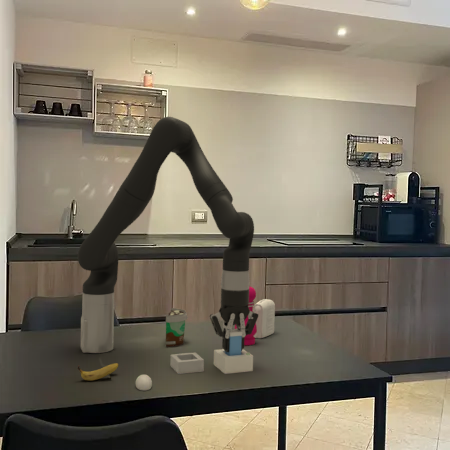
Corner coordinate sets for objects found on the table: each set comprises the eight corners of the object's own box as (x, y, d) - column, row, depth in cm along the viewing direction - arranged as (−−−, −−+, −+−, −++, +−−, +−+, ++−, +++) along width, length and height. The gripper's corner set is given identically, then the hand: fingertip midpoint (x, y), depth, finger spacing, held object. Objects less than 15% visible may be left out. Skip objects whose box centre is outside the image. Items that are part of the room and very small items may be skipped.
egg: (149, 386, 129) (150, 370, 129) (153, 395, 123) (153, 378, 123) (134, 387, 128) (134, 371, 128) (137, 396, 122) (137, 380, 122)
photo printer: (264, 331, 187) (265, 296, 186) (275, 333, 184) (276, 298, 184) (250, 337, 178) (251, 301, 177) (261, 339, 176) (263, 302, 175)
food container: (185, 348, 162) (185, 316, 162) (165, 348, 162) (165, 315, 162) (188, 338, 175) (189, 308, 174) (170, 337, 175) (170, 307, 174)
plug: (229, 366, 140) (230, 332, 139) (224, 363, 143) (225, 329, 142) (241, 365, 141) (242, 331, 141) (236, 362, 144) (237, 328, 144)
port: (224, 377, 137) (225, 356, 137) (213, 368, 144) (214, 348, 144) (252, 374, 140) (253, 354, 140) (240, 365, 147) (240, 346, 147)
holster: (177, 377, 136) (178, 362, 136) (170, 369, 142) (170, 354, 142) (203, 374, 138) (204, 359, 138) (194, 366, 145) (195, 352, 145)
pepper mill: (261, 343, 171) (262, 281, 170) (246, 347, 166) (248, 283, 165) (244, 338, 176) (245, 278, 175) (229, 342, 171) (231, 280, 170)
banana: (117, 376, 135) (118, 361, 135) (118, 380, 133) (119, 364, 133) (76, 379, 132) (77, 364, 132) (77, 383, 130) (77, 367, 130)
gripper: (215, 290, 135) (213, 357, 136) (265, 288, 140) (263, 352, 141) (205, 285, 142) (203, 349, 143) (253, 283, 147) (251, 345, 148)
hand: (233, 350), depth 142 cm, fingers closed on plug, 3 cm apart
